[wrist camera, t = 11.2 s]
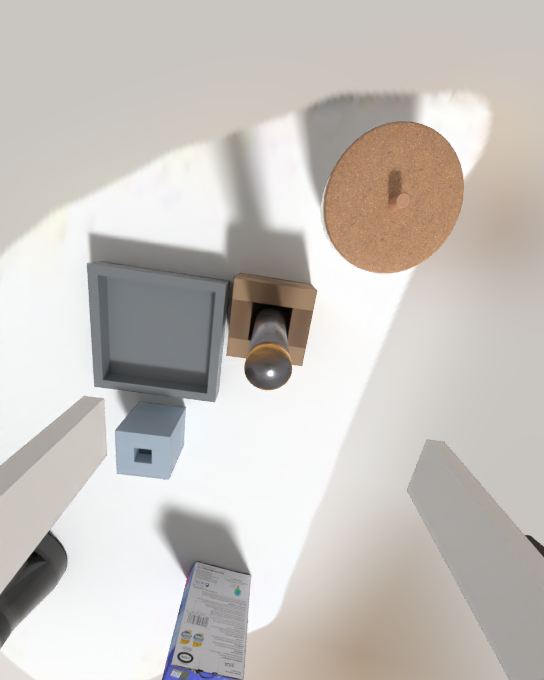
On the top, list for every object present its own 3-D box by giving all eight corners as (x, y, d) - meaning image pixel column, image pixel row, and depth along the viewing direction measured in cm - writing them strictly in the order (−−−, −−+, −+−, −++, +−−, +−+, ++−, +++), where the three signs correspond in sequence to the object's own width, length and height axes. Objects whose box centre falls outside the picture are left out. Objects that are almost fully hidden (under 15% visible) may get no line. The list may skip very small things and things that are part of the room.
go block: (232, 341, 34) (226, 355, 30) (239, 273, 32) (234, 278, 27) (298, 350, 35) (302, 365, 30) (311, 284, 32) (317, 290, 28)
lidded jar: (295, 240, 30) (304, 241, 22) (342, 130, 27) (376, 78, 18) (382, 281, 32) (425, 297, 23) (438, 181, 29) (512, 155, 20)
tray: (106, 376, 36) (94, 386, 33) (100, 261, 31) (86, 263, 29) (218, 391, 36) (214, 402, 34) (229, 280, 32) (226, 284, 29)
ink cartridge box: (185, 580, 48) (150, 715, 35) (194, 559, 47) (161, 692, 33) (240, 594, 49) (229, 730, 36) (251, 574, 48) (243, 708, 34)
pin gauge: (254, 326, 32) (241, 386, 19) (258, 300, 31) (247, 343, 18) (281, 330, 33) (287, 392, 19) (286, 304, 32) (295, 350, 18)
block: (139, 439, 39) (116, 473, 33) (139, 401, 37) (114, 430, 31) (183, 444, 39) (168, 479, 34) (185, 407, 37) (170, 437, 32)
